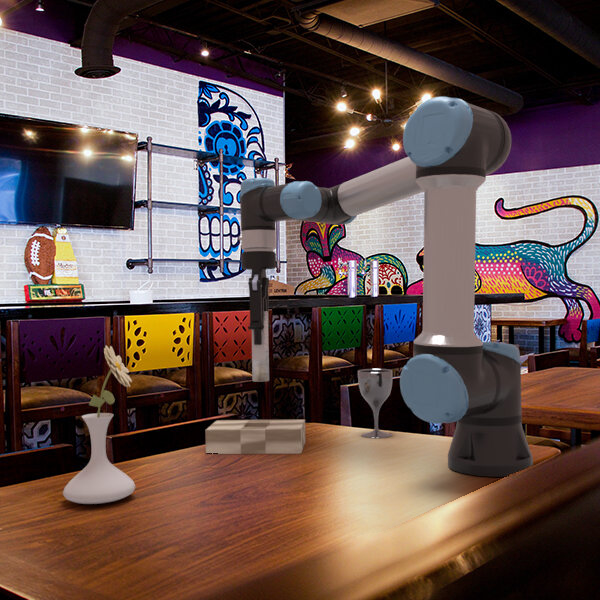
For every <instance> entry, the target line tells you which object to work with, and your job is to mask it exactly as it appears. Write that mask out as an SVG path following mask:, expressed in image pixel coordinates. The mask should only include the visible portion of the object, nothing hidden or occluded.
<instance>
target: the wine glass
mask: <svg viewBox="0 0 600 600" xmlns="http://www.w3.org/2000/svg"><path fill="white" fill-rule="evenodd" d="M357 379H358V382H357V383H358V388H359V392H360V394H361V397H363V399H364V400H365V401H366V402H367V403H368V405H369V407H370V408H371V410H372V412H373V413H372V415H373V420H374V429H373V430H372V431H369V432H368V431H367V432H364V433H361V434H360V435H361V437H363V438H367V437H368V439H384V438H385V439H386V438H391V437H392V436H393V434H392V433H390V432H385V431H381V430H380V429H379V415H380V414H379V413H380V409H381V407H382V405H383V404H384V402H386V400H387V399H388V397H390V395H391V391H392V387H393V370H392V369H387V368H365V369H359V370H357Z"/></svg>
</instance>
